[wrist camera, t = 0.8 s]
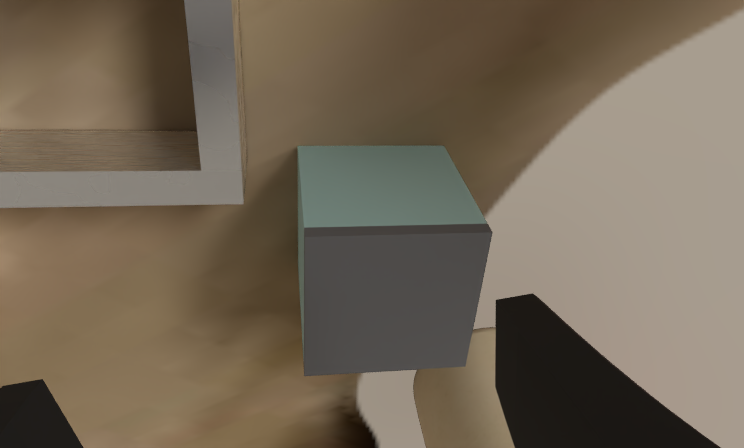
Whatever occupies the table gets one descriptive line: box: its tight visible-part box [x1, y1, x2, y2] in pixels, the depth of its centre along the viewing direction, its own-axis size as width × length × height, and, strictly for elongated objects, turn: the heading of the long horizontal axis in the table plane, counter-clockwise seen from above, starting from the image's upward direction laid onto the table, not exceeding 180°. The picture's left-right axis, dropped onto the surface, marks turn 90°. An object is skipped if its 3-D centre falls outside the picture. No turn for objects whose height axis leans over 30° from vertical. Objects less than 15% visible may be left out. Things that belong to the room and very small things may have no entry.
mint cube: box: [298, 146, 492, 376], centre depth 17 cm, size 4×4×5 cm
